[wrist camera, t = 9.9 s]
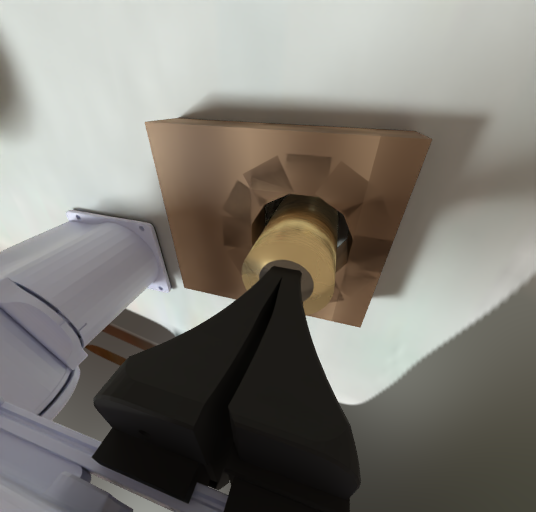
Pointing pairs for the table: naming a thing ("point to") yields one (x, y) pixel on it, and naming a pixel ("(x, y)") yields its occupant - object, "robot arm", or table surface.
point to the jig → (278, 185)
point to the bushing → (299, 248)
